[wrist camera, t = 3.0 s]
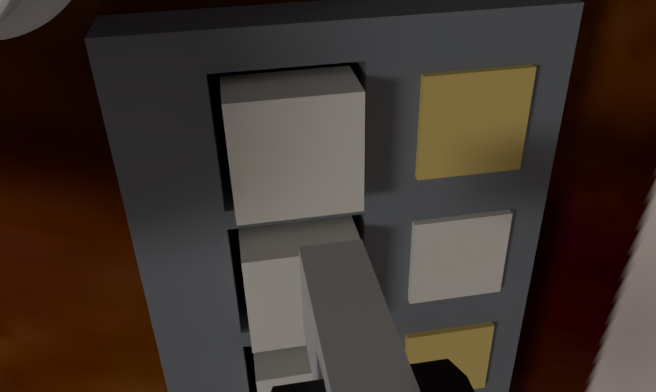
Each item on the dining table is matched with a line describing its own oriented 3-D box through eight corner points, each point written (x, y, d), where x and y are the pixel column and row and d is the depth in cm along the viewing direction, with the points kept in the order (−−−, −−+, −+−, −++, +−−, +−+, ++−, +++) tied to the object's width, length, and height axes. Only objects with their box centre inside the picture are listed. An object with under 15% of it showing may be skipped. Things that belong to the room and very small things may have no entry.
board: (97, 15, 20) (82, 41, 18) (547, -15, 22) (589, 4, 20) (201, 484, 34) (200, 535, 31) (474, 438, 36) (494, 482, 34)
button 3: (252, 339, 26) (255, 381, 24) (350, 325, 27) (362, 365, 25) (260, 406, 29) (264, 450, 27) (351, 392, 29) (361, 434, 27)
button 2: (238, 225, 23) (241, 263, 21) (350, 212, 24) (363, 248, 22) (248, 311, 26) (252, 353, 24) (350, 297, 26) (363, 337, 24)
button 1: (219, 76, 20) (221, 104, 18) (349, 65, 21) (365, 91, 19) (233, 189, 23) (236, 225, 20) (350, 177, 23) (364, 211, 21)
